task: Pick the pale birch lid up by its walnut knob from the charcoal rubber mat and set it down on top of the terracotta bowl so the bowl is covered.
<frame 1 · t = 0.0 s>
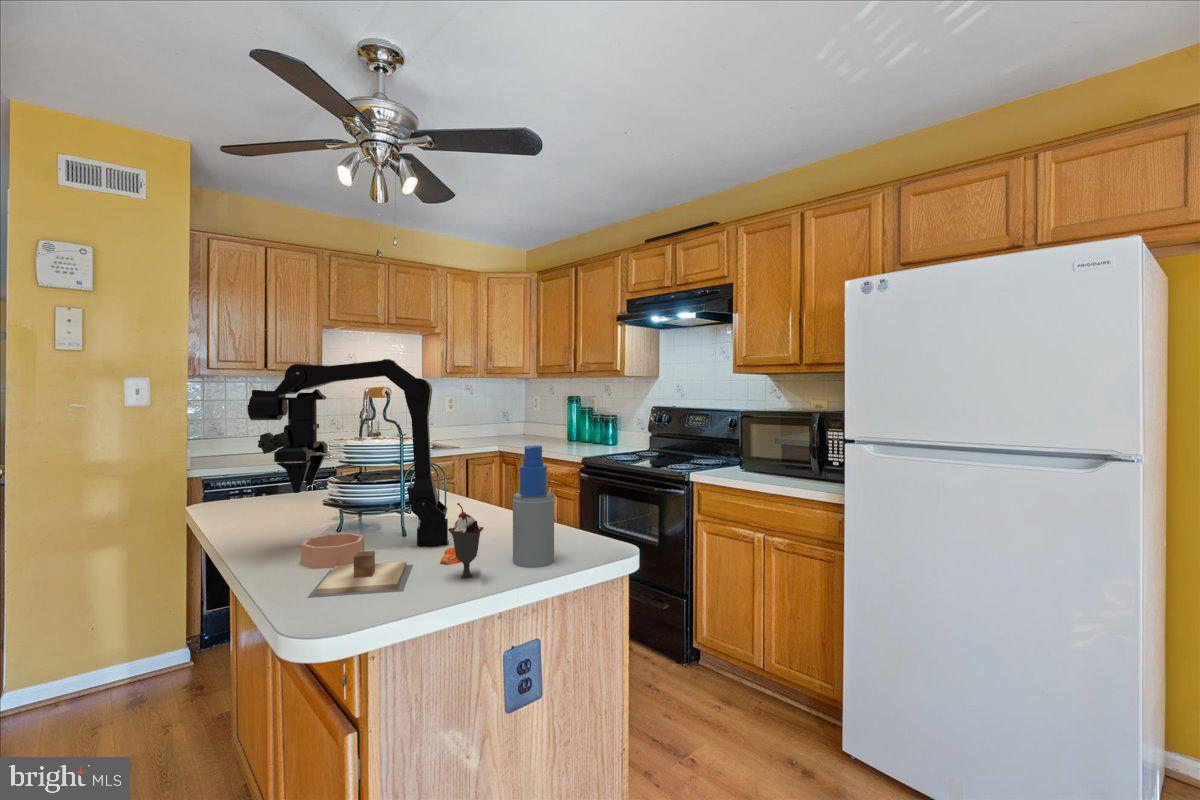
hand: (303, 489, 130), 15 cm above the countertop, fingers open, 9 cm apart
sundae: (466, 581, 112), on the countertop
spray bottle: (533, 562, 125), on the countertop
mat: (364, 583, 110), on the countertop
bowl: (333, 563, 123), on the countertop
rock: (453, 567, 123), on the countertop
lid: (364, 579, 110), point 1 cm above the countertop, touching mat
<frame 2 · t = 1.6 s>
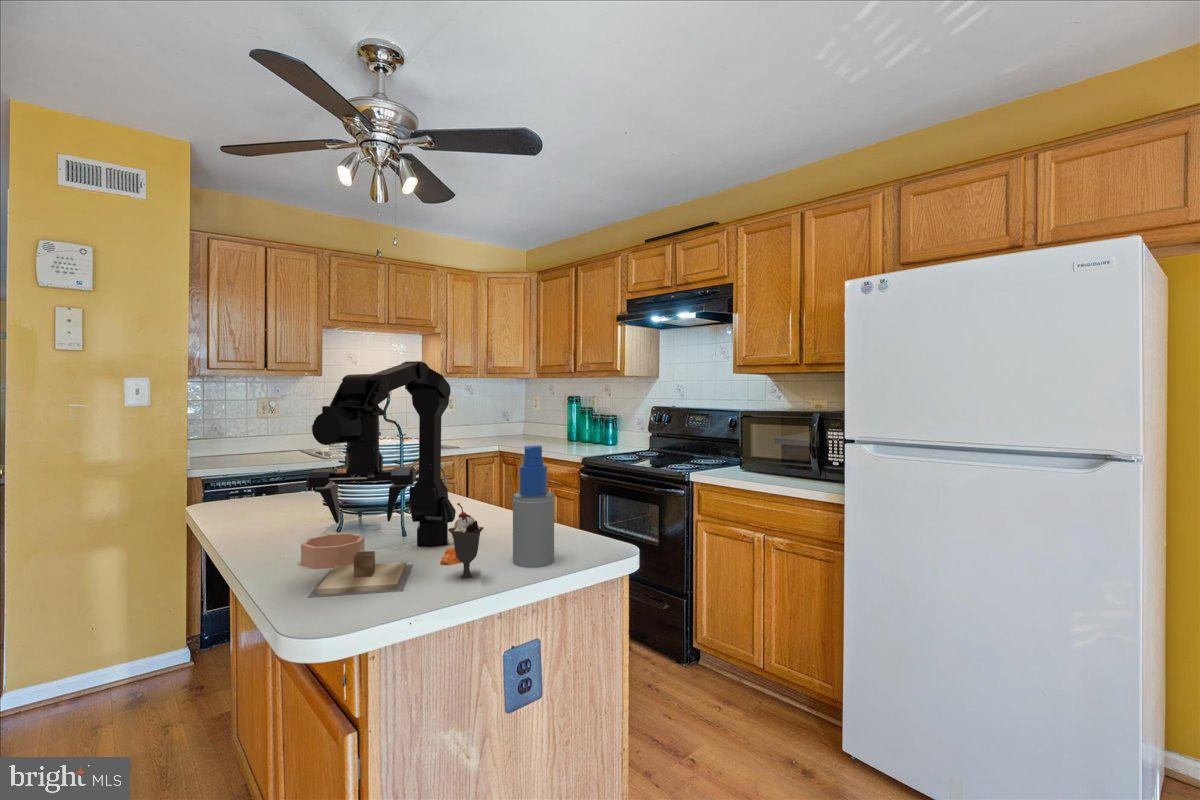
hand: (363, 521, 110), 12 cm above the countertop, fingers open, 9 cm apart
nothing on the countertop moved.
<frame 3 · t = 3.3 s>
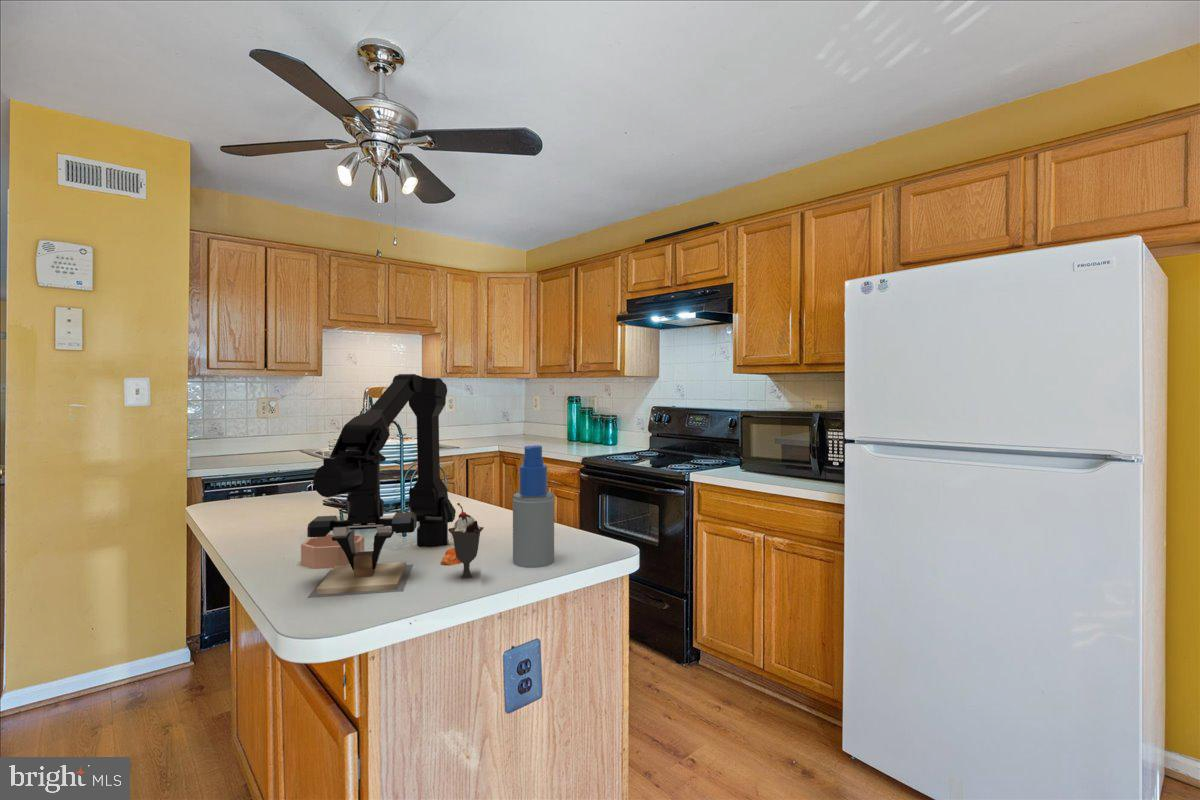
hand: (364, 569, 110), 3 cm above the countertop, fingers closed on lid, 3 cm apart
lid: (364, 579, 110), point 1 cm above the countertop, touching gripper, mat
everything else where it was.
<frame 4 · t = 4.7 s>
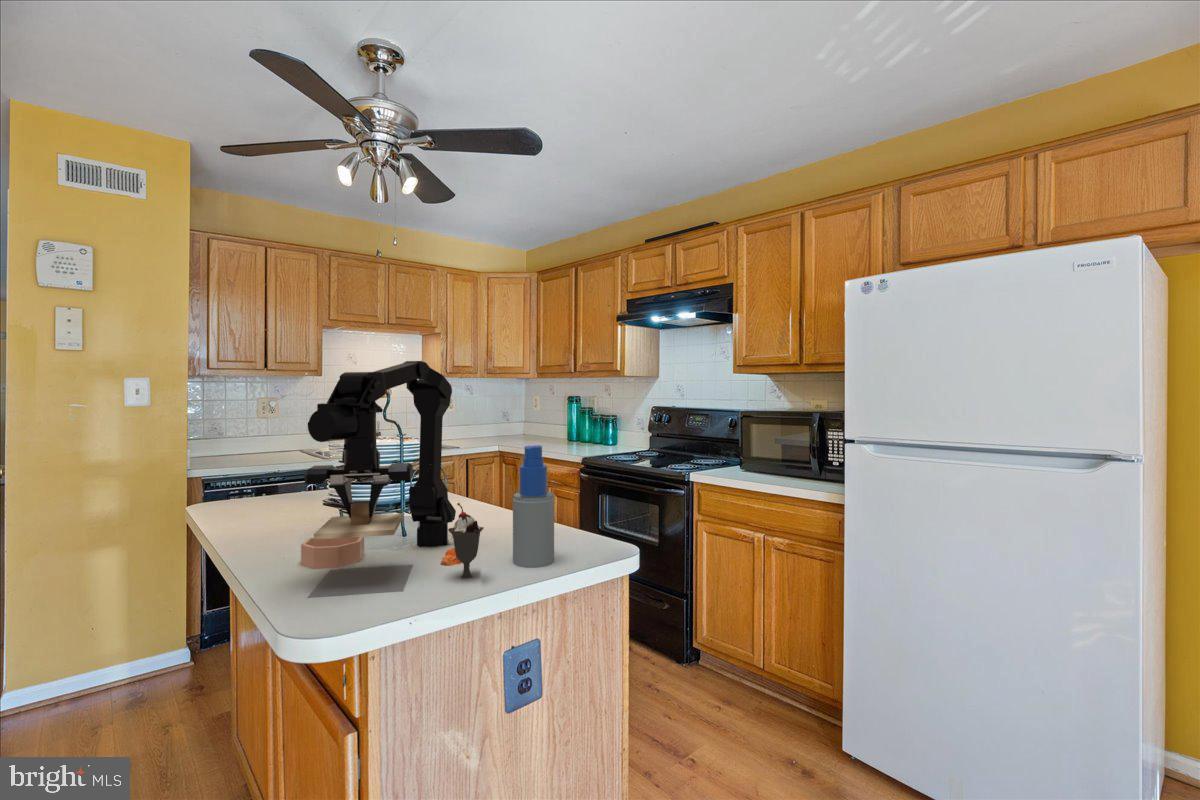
hand: (361, 517, 111), 12 cm above the countertop, fingers closed on lid, 3 cm apart
lid: (361, 528, 111), point 10 cm above the countertop, touching gripper
everything else where it was.
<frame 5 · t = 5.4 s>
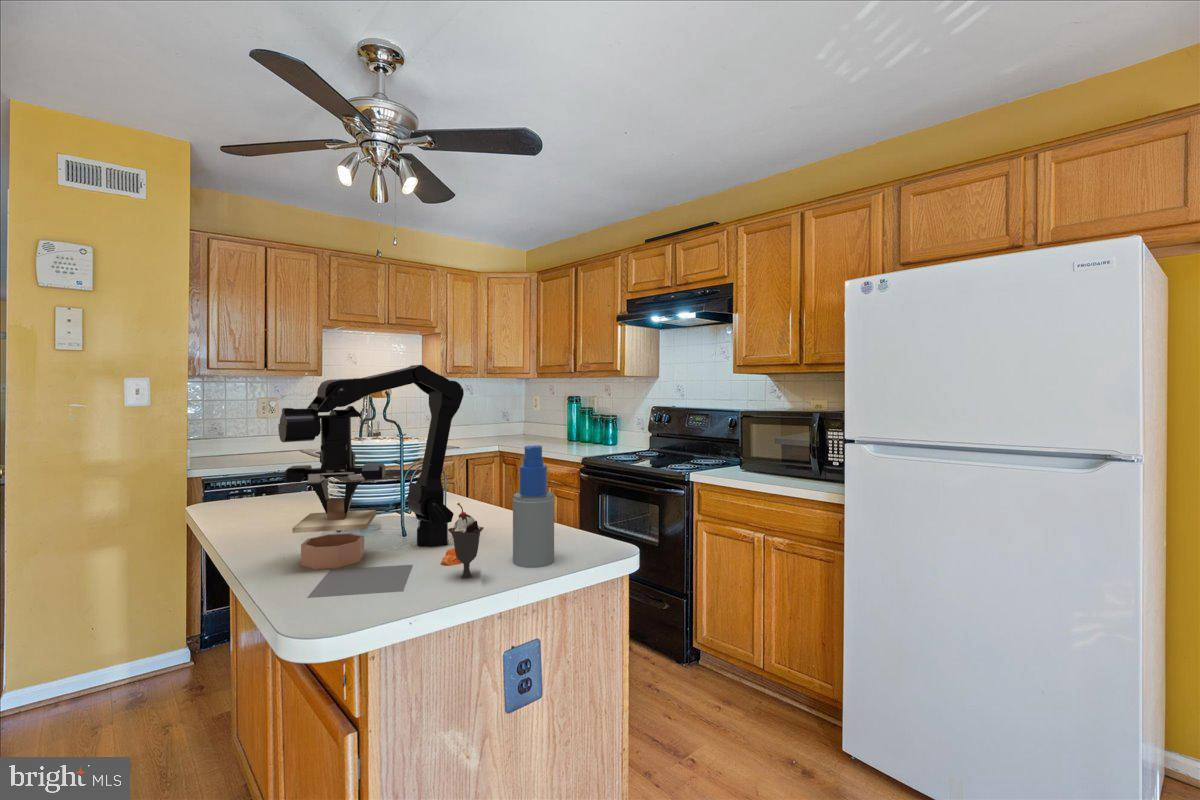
hand: (337, 513, 121), 11 cm above the countertop, fingers closed on lid, 3 cm apart
lid: (337, 523, 121), point 9 cm above the countertop, touching gripper
everything else where it was.
when the fingers open (9 cm above the countertop, at t = 6.2 s): lid drops 2 cm, resting on bowl.
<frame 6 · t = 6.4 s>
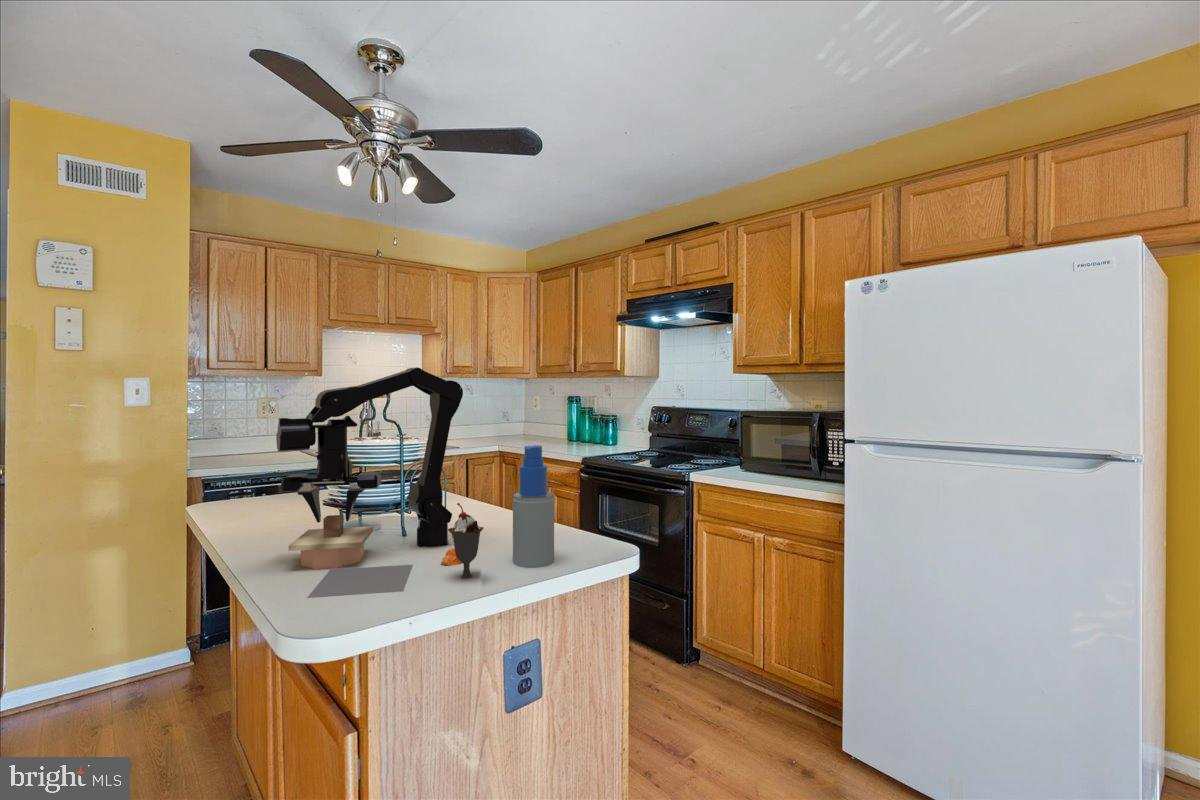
hand: (333, 521, 123), 9 cm above the countertop, fingers open, 5 cm apart
lid: (333, 540, 123), point 5 cm above the countertop, touching bowl
everything else where it was.
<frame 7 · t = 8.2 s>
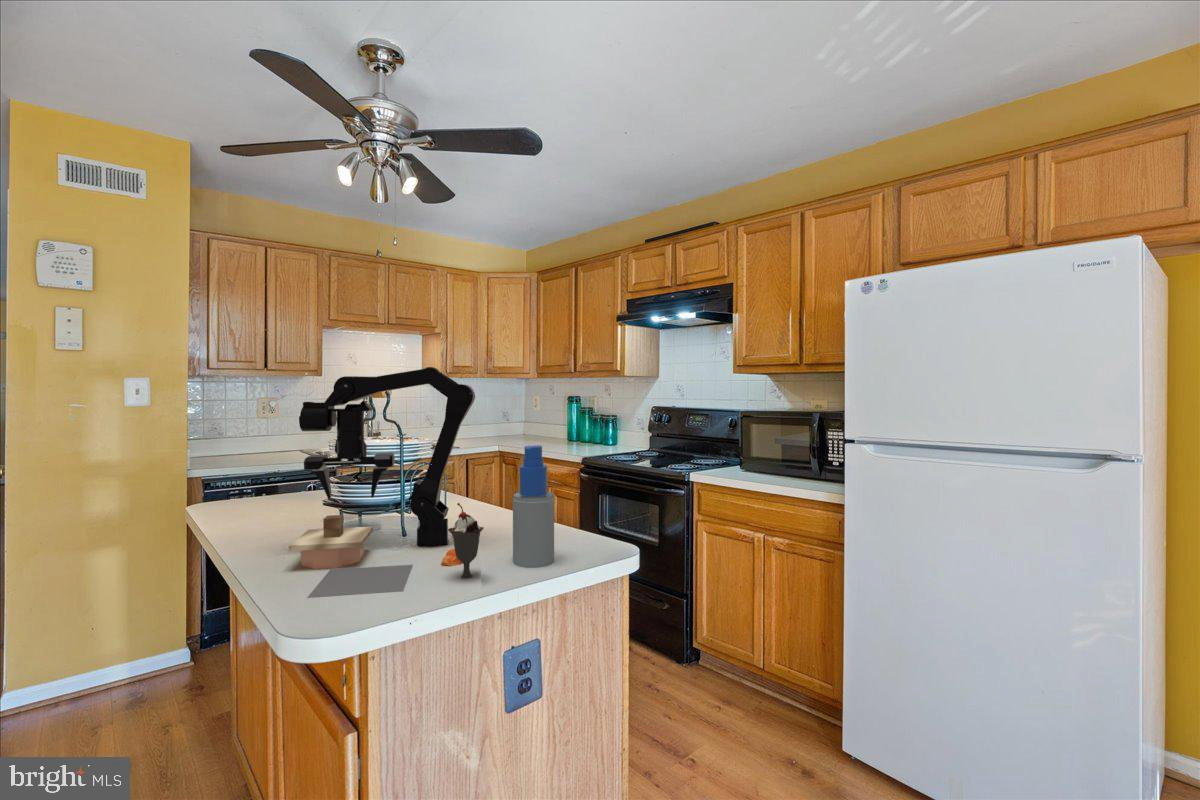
hand: (351, 498, 133), 12 cm above the countertop, fingers open, 9 cm apart
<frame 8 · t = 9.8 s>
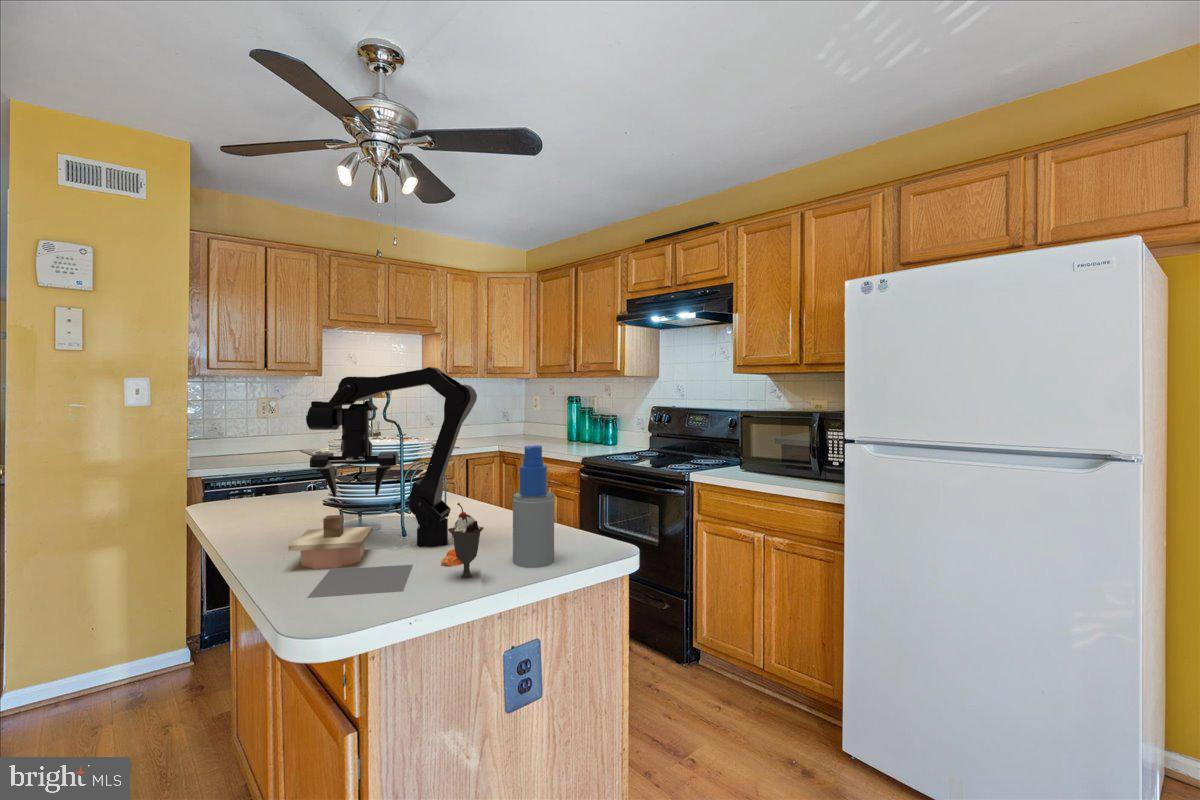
hand: (356, 496, 136), 12 cm above the countertop, fingers open, 9 cm apart
at the end: lid 0.1 cm off-centre on the bowl, point 5.0 cm above the bowl's base; lid tilted 0°; the gripper is holding nothing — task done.
